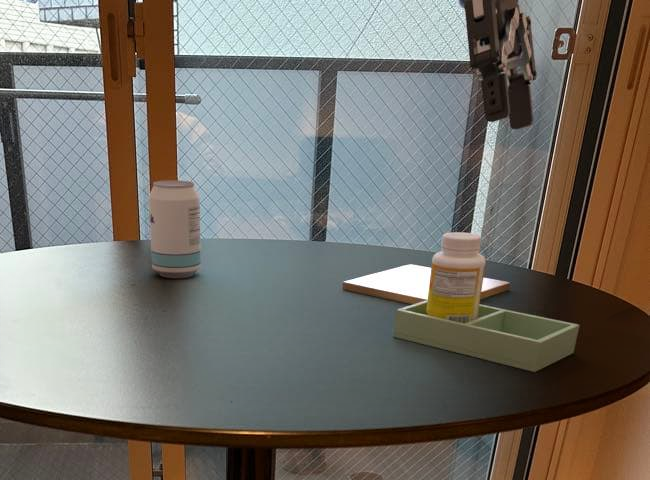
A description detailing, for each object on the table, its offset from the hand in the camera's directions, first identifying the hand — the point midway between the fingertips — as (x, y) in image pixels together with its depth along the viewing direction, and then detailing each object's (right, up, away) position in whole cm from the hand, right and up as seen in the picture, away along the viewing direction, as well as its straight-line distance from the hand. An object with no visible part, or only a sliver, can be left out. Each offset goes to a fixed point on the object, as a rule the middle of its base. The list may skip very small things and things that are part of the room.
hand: (510, 123), depth 80 cm
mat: (-2, -8, +28) cm, 29 cm away
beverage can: (-36, -4, +34) cm, 50 cm away
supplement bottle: (-4, -19, +9) cm, 21 cm away
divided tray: (-1, -21, +6) cm, 22 cm away
